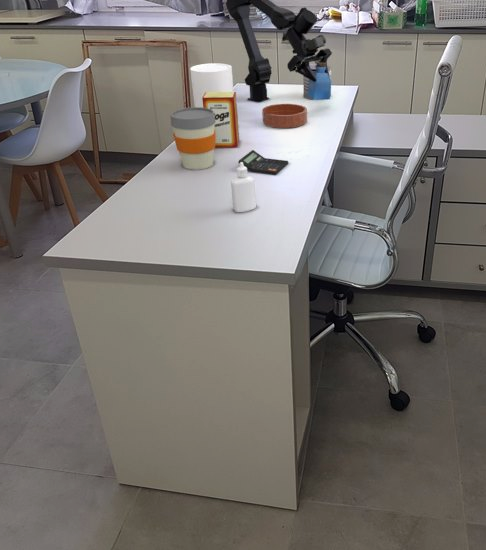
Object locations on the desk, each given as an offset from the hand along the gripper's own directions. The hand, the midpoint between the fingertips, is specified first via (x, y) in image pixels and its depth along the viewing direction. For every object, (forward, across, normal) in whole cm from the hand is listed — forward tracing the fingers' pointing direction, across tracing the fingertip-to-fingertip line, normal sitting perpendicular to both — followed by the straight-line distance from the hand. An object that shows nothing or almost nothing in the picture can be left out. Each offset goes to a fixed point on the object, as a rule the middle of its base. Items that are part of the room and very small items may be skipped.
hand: (322, 79), depth 203 cm
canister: (-4, -35, +22) cm, 42 cm away
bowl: (+6, -16, +12) cm, 20 cm away
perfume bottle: (+4, 0, +6) cm, 7 cm away
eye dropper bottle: (+36, -75, -19) cm, 85 cm away
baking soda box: (+7, -46, +11) cm, 47 cm away
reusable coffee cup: (+13, -62, +5) cm, 64 cm away
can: (-4, +19, +22) cm, 29 cm away
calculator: (+24, -52, -7) cm, 57 cm away
